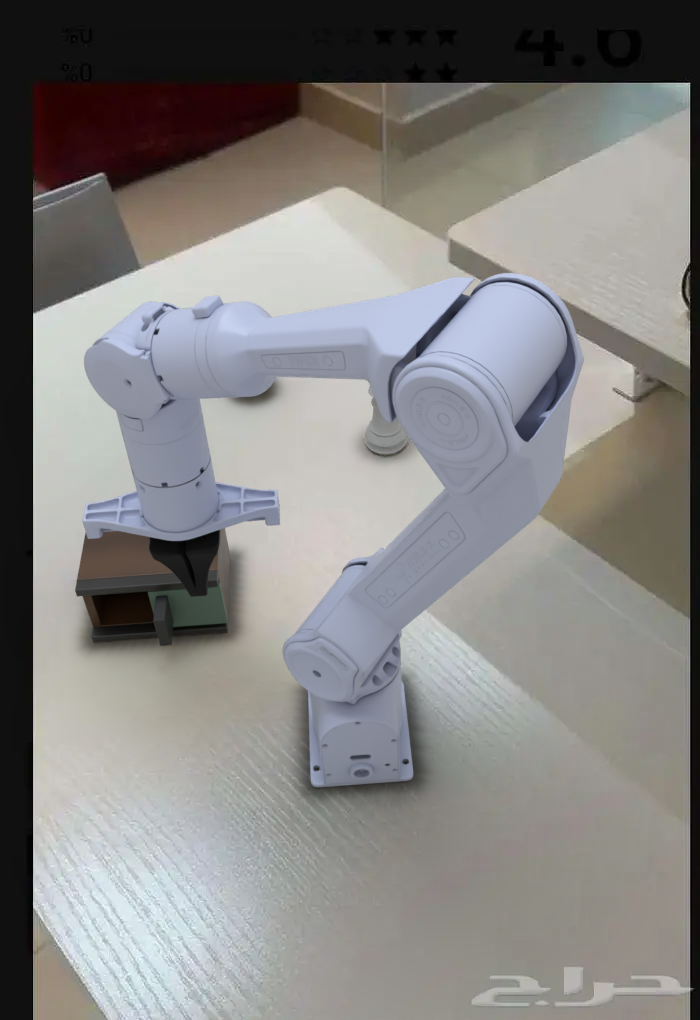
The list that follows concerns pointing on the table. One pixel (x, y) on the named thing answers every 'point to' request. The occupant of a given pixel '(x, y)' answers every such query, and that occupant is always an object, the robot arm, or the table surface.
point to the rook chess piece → (384, 433)
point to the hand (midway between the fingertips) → (199, 587)
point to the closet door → (185, 610)
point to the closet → (136, 586)
